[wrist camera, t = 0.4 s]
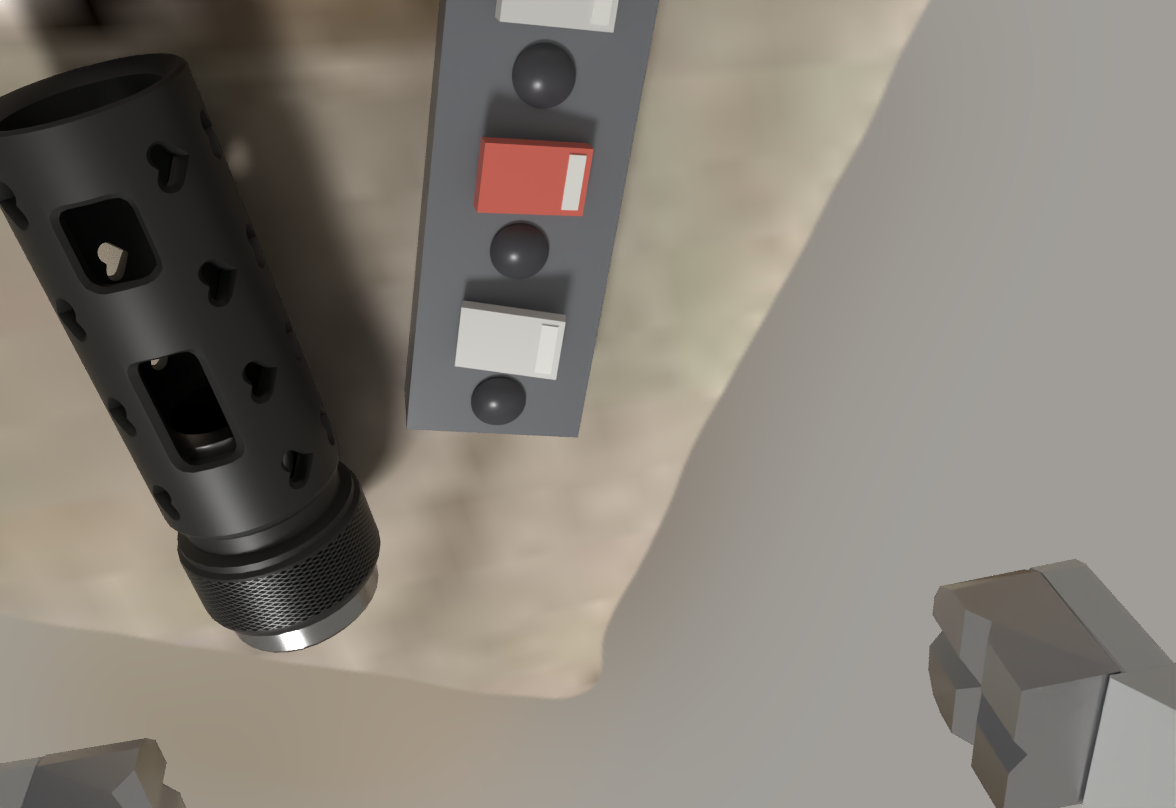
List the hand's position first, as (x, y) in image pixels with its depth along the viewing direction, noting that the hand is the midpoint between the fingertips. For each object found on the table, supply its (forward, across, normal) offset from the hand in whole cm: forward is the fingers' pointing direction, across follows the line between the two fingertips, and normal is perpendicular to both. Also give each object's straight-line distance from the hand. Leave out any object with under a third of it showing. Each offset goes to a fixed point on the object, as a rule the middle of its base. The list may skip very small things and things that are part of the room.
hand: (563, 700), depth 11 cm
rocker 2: (+39, -1, +16) cm, 43 cm away
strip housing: (+44, -3, +10) cm, 45 cm away
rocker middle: (+39, -4, +8) cm, 40 cm away
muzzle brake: (+45, +13, +16) cm, 49 cm away
